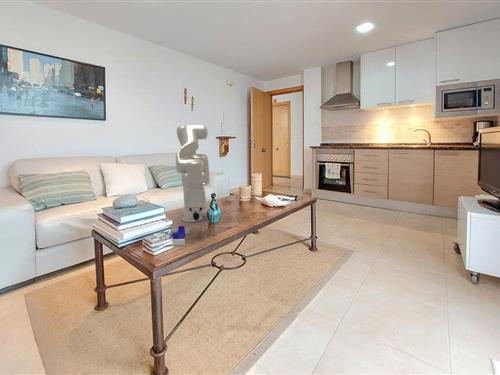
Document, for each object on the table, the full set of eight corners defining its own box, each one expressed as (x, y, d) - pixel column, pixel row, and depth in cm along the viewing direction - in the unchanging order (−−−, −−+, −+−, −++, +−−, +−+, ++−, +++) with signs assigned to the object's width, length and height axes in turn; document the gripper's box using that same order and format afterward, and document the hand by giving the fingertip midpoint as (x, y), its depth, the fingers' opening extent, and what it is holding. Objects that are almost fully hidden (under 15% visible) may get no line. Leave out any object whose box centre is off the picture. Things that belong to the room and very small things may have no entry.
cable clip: (176, 236, 142) (176, 225, 141) (185, 236, 142) (184, 225, 141) (169, 245, 131) (169, 233, 130) (179, 245, 131) (178, 233, 130)
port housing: (170, 234, 145) (170, 229, 145) (188, 233, 146) (188, 228, 146) (164, 246, 129) (164, 240, 128) (184, 245, 130) (184, 239, 130)
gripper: (210, 183, 138) (211, 217, 142) (180, 184, 137) (182, 218, 141) (209, 186, 131) (210, 221, 135) (178, 187, 130) (180, 222, 134)
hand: (196, 219), depth 138 cm, fingers closed
